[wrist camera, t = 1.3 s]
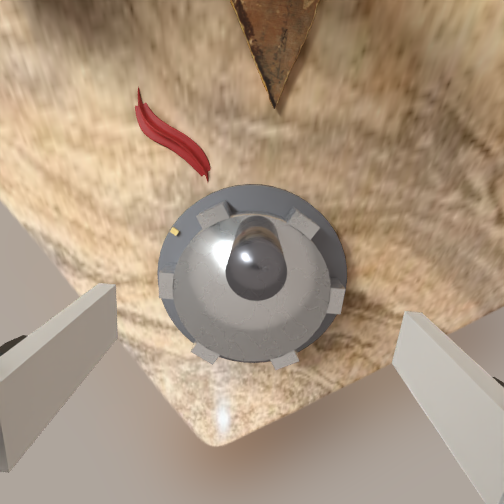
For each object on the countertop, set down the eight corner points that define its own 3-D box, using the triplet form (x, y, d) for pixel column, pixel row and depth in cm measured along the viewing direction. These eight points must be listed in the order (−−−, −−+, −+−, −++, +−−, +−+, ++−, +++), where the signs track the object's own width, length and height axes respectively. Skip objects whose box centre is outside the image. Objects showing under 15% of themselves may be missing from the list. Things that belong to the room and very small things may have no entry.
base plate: (163, 175, 33) (156, 176, 31) (357, 193, 33) (364, 195, 31) (162, 345, 39) (156, 356, 37) (326, 359, 39) (330, 371, 37)
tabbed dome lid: (168, 194, 32) (110, 216, 19) (350, 211, 32) (409, 244, 19) (166, 344, 37) (119, 439, 24) (323, 358, 37) (357, 459, 24)
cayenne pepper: (122, 94, 31) (113, 90, 30) (160, 70, 31) (154, 65, 29) (183, 199, 34) (179, 202, 32) (219, 180, 34) (217, 181, 32)
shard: (273, 111, 32) (274, 108, 30) (205, 76, 31) (202, 72, 29) (324, -4, 29) (328, -14, 27) (250, -45, 28) (249, -59, 26)
